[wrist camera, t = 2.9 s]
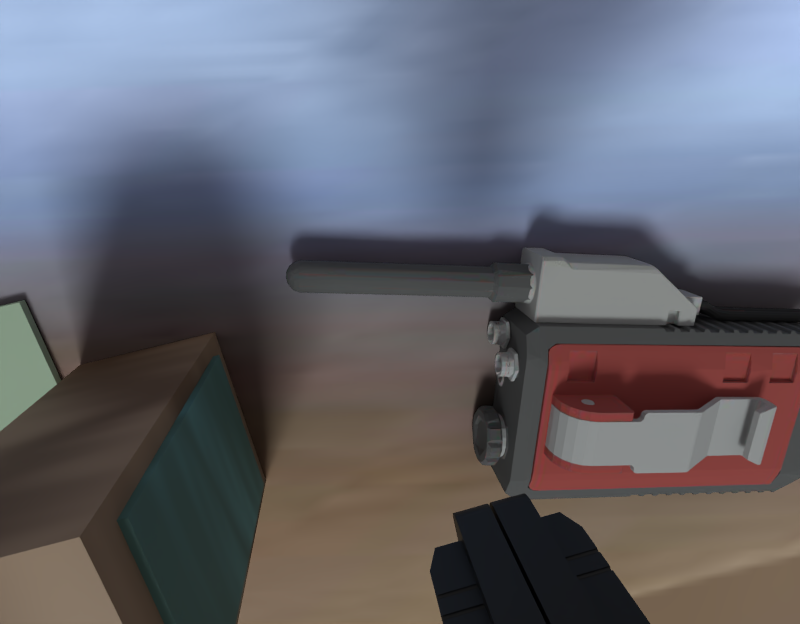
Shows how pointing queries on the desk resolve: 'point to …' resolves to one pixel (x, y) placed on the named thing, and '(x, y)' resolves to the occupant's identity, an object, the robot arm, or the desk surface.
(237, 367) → the desk surface
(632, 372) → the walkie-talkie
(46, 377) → the mat
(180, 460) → the brown teal box
